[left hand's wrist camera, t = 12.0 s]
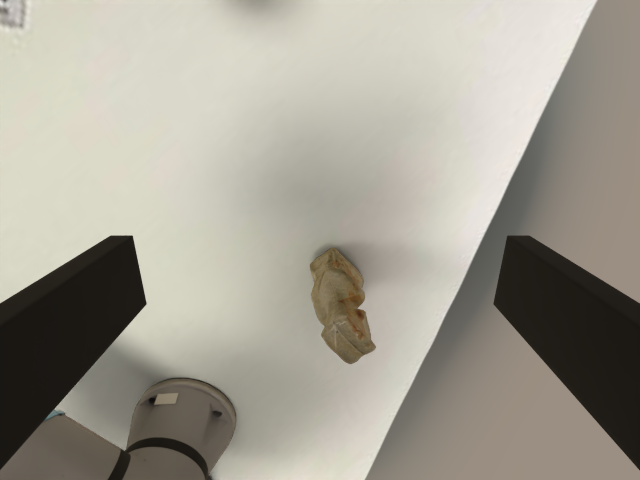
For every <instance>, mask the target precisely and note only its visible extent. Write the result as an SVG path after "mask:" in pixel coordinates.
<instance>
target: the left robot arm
mask: <svg viewBox="0 0 640 480" xmlns="http://www.w3.org/2000/svg"><path fill="white" fill-rule="evenodd" d="M145 305H146V299H145V294H144V289H143V284H142V279H141V274H140V269H139V265H138V260H137V255H136V250H135V245H134V240H133V236H109V237H108V238H106V239H104V240H103V241H101V242H100V243H98V244H96V245H95V246H93V247H91V248H90V249H88V250H87V251H85V252H83V253H82V254H80V255H78V256H77V257H75V258H74V259H72V260H70V261H69V262H67V263H65V264H64V265H62V266H61V267H59V268H57V269H56V270H54V271H52V272H51V273H49V274H48V275H46V276H44V277H43V278H41V279H39V280H38V281H36V282H34V283H33V284H31V285H30V286H28V287H26V288H25V289H23V290H21V291H20V292H18V293H17V294H15V295H13V296H12V297H10V298H8V299H7V300H5V301H4V302H2V303H0V480H211V478H210V477H209V473H210V471H211V470H212V468H213V467H214V465H215V464H216V462H217V461H218V459H219V458H220V456H221V455H222V454H223V452H224V451H225V449H226V448H227V446H228V444H229V443H230V441H231V439H232V436H233V432H234V429H235V424H236V415H235V411H234V408H233V406H232V405H231V403H230V401H229V400H228V399H227V398H226V397H225V396H224V395H223V394H222V393H221V392H220V391H218V390H217V389H215V388H214V387H212V386H210V385H208V384H206V383H203V382H200V381H196V380H192V379H170V380H165V381H162V382H159V383H157V384H155V385H153V386H152V387H150V388H149V389H148V390H147V391H146V392H145V393H144V394H143V396H142V397H141V399H140V401H139V402H138V404H137V406H136V408H135V411H134V414H133V418H132V422H131V427H130V432H129V437H128V442H127V447H126V450H125V451H124V450H122V449H120V448H119V447H117V446H115V445H114V444H112V443H110V442H109V441H107V440H106V439H104V438H102V437H101V436H99V435H97V434H96V433H94V432H92V431H91V430H89V429H87V428H86V427H84V426H82V425H81V424H79V423H77V422H76V421H74V420H72V419H71V418H69V417H68V416H66V415H65V413H64V412H63V411H56V410H54V409H55V407H56V406H57V405H58V404H59V403H60V402H61V401H62V400H63V398H64V397H65V396H66V395H67V394H68V393H69V392H70V390H71V389H72V388H73V387H74V386H75V385H76V384H77V382H78V381H79V380H80V379H81V378H82V377H83V376H84V375H85V373H86V372H87V371H88V370H89V369H90V368H91V367H92V365H93V364H94V363H95V362H96V361H97V360H98V359H99V358H100V356H101V355H102V354H103V353H104V352H105V351H106V350H107V348H108V347H109V346H110V345H111V344H112V343H113V342H114V340H115V339H116V338H117V337H118V336H119V335H120V334H121V333H122V331H123V330H124V329H125V328H126V327H127V326H128V325H129V323H130V322H131V321H132V320H133V319H134V318H135V317H136V315H137V314H138V313H139V312H140V311H141V310H142V309H143V308H144V306H145ZM494 305H495V306H496V308H497V309H498V310H499V311H500V312H501V313H502V314H503V315H504V317H505V318H506V319H507V320H508V321H509V322H510V323H511V325H512V326H513V327H514V328H515V329H516V330H517V331H518V332H519V334H520V335H521V336H522V337H523V338H524V339H525V340H526V342H527V343H528V344H529V345H530V346H531V347H532V348H533V350H534V351H535V352H536V353H537V354H538V355H539V356H540V358H541V359H542V360H543V361H544V362H545V363H546V364H547V365H548V367H549V368H550V369H551V370H552V371H553V372H554V373H555V375H556V376H557V377H558V378H559V379H560V380H561V381H562V382H563V384H564V385H565V386H566V387H567V388H568V389H569V390H570V391H571V393H572V394H573V395H574V396H575V397H576V398H577V400H578V401H579V402H580V403H581V404H582V405H583V406H584V407H585V409H586V410H587V411H588V412H589V413H590V414H591V415H592V416H593V418H594V419H595V420H596V421H597V422H598V423H599V425H600V426H601V427H602V428H603V429H604V430H605V431H606V432H607V434H608V435H609V436H610V437H611V438H612V439H613V440H614V442H615V443H616V444H617V445H618V446H619V447H620V448H621V449H622V451H623V452H624V453H625V454H626V455H627V456H628V457H629V459H630V460H631V461H632V462H633V463H634V464H635V465H636V467H637V468H638V469H639V470H640V303H638V302H636V301H635V300H633V299H631V298H630V297H628V296H627V295H625V294H623V293H622V292H620V291H619V290H617V289H615V288H614V287H612V286H610V285H609V284H607V283H605V282H604V281H602V280H601V279H599V278H597V277H596V276H594V275H592V274H591V273H589V272H588V271H586V270H584V269H583V268H581V267H579V266H578V265H576V264H575V263H573V262H571V261H570V260H568V259H566V258H565V257H563V256H562V255H560V254H558V253H557V252H555V251H553V250H552V249H550V248H549V247H547V246H545V245H544V244H542V243H540V242H539V241H537V240H536V239H534V238H532V237H531V236H507V240H506V245H505V250H504V255H503V260H502V265H501V269H500V274H499V279H498V284H497V289H496V294H495V299H494Z"/></svg>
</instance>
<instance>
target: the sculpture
mask: <svg viewBox="0 0 640 480" xmlns="http://www.w3.org/2000/svg"><path fill="white" fill-rule="evenodd" d="M310 269H311V273H312V276H313V279H314V282H315V284H314V287H313V290H312V293H311V298H312V301H313V305H314V308H315V311H316V314H317V317H318V319H319V321H320V322H321V323H322V324H323V325H325V328H324V329H323V331H322V333H321V336H322V337H323V339H324V341H325V342H326V344H327V345H328V346H329V347H330V348H331V349H332V350H333V351H334V352H335V353H336V354H337V355H338V356H339V357H340V358H341V359H342V360H343V361H345V362H346V363H348V364H352V363H355V362H357V361H358V360H359V359H360V357H362V356H363V355H365V354H368V353H370V352H372V351H373V350H375V348H376V346H375V345H374V343H373V342H372V341H371V334H370V329H369V325H368V322H367V317H366V312H365V311H364V310H360V309H357V308H358V307H359V306H360V305H361V304H362V303H363V301H364V299H365V293H364V292H363V290H362V289H361V288H362V286H363V283H364V281H363V278H362V276H361V274H360V272H359V271H358V270H357V269H356V268H355V267H354V266H353V265H352V264H351V263H350V262H349V261H347V260H346V259H345V258H344V257H343V256H342V255H341V254H340V253H339V252H338V250H337V249H335V248H331V249H329V250H328V251H326V253H324V254H323V255H321V256H319V257H318V258H316V259H315V260H314V261H313V262H312V263H311V264H310Z"/></svg>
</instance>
